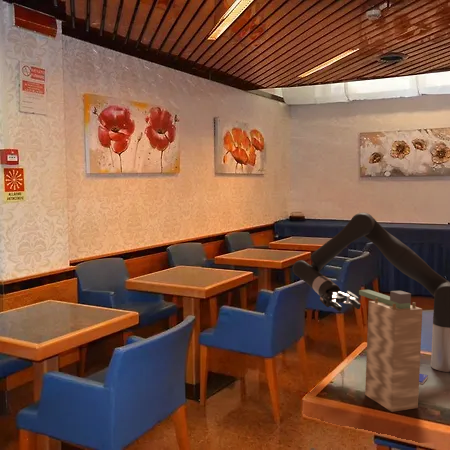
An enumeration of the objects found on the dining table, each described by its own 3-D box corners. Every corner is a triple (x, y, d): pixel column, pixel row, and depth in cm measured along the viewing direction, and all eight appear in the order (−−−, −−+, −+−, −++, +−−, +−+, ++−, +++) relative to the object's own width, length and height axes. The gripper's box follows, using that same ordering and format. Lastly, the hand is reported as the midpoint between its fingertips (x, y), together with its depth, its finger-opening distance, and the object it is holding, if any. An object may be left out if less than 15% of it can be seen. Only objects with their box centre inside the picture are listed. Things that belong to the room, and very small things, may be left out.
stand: (365, 394, 175) (368, 296, 172) (389, 391, 178) (393, 295, 176) (391, 411, 162) (396, 306, 159) (417, 407, 165) (422, 304, 162)
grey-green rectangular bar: (358, 294, 183) (359, 281, 182) (368, 294, 184) (369, 281, 184) (399, 308, 162) (400, 294, 162) (410, 308, 163) (411, 293, 163)
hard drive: (428, 374, 192) (394, 367, 199) (422, 381, 185) (387, 374, 192) (427, 378, 192) (394, 371, 199) (422, 385, 185) (387, 378, 192)
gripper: (312, 281, 202) (336, 301, 189) (342, 278, 208) (367, 297, 195) (309, 298, 205) (332, 319, 191) (338, 295, 211) (363, 315, 197)
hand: (350, 308), depth 193 cm, fingers open, 8 cm apart
